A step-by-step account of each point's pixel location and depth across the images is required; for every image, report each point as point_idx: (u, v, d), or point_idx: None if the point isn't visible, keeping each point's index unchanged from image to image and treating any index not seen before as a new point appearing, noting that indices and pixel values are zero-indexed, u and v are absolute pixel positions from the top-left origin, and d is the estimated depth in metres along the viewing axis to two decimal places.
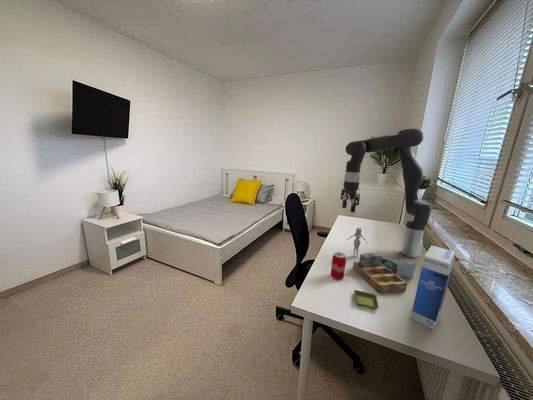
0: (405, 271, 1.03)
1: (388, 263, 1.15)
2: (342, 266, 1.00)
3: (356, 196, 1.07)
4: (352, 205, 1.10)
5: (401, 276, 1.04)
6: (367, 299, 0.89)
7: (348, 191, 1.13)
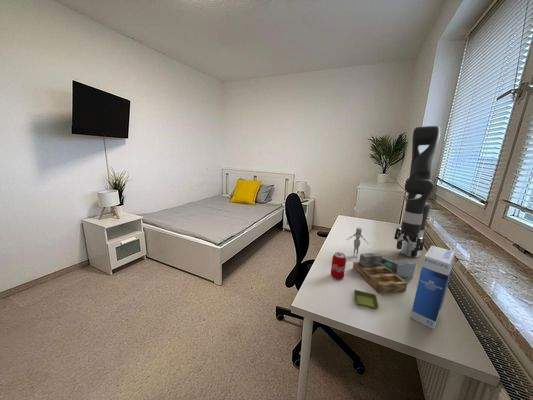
0: (405, 271, 1.03)
1: (388, 264, 1.14)
2: (342, 266, 1.00)
3: (420, 241, 0.94)
4: (414, 250, 0.97)
5: (401, 276, 1.04)
6: (367, 299, 0.89)
7: (407, 233, 1.00)
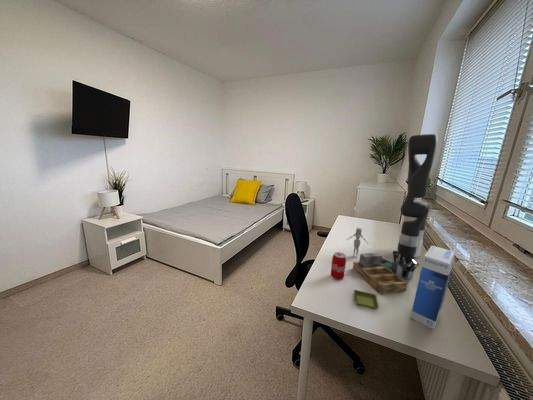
0: None
1: (387, 264, 1.14)
2: (342, 266, 1.00)
3: (414, 266, 0.97)
4: (405, 271, 1.02)
5: (401, 276, 1.03)
6: (367, 299, 0.89)
7: (403, 254, 1.03)
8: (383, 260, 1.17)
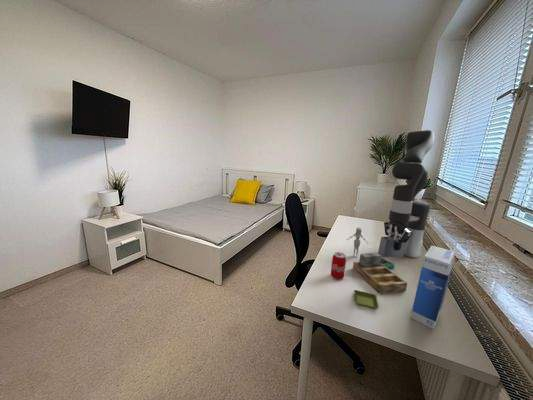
0: None
1: (386, 264, 1.14)
2: (342, 266, 1.00)
3: (407, 235, 0.85)
4: (397, 242, 0.89)
5: (390, 253, 0.91)
6: (367, 299, 0.89)
7: (395, 223, 0.90)
8: (383, 260, 1.17)
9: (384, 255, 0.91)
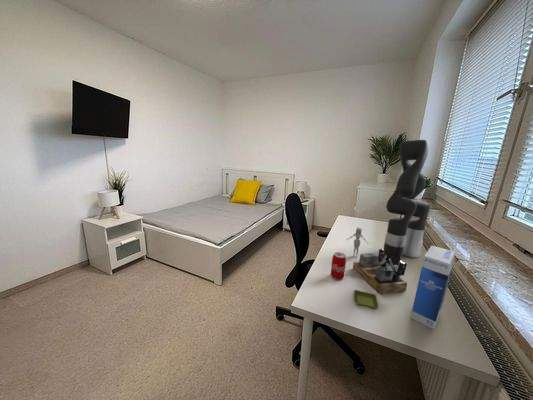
0: (390, 278, 0.94)
1: None
2: (342, 266, 1.00)
3: (402, 266, 0.87)
4: (395, 274, 0.91)
5: None
6: (367, 299, 0.89)
7: (390, 255, 0.93)
8: None
9: None
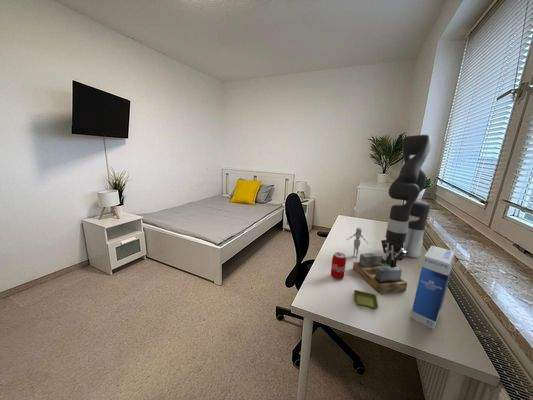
0: (390, 278, 0.94)
1: (385, 265, 1.13)
2: (342, 266, 1.00)
3: (403, 255, 0.87)
4: (393, 260, 0.92)
5: None
6: (367, 299, 0.89)
7: (392, 242, 0.92)
8: (383, 261, 1.16)
9: None
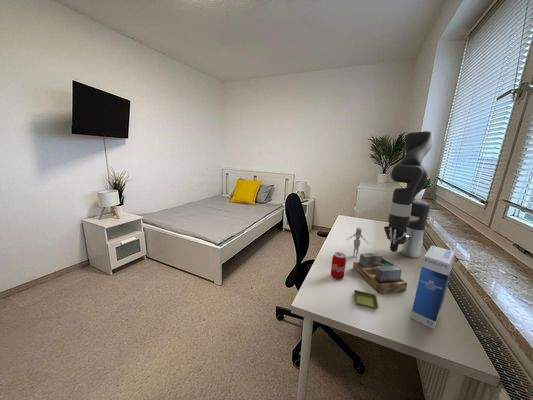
0: (390, 278, 0.94)
1: (386, 265, 1.13)
2: (342, 266, 1.00)
3: (405, 239, 0.86)
4: (394, 244, 0.91)
5: None
6: (367, 299, 0.89)
7: (395, 226, 0.90)
8: (384, 261, 1.17)
9: None
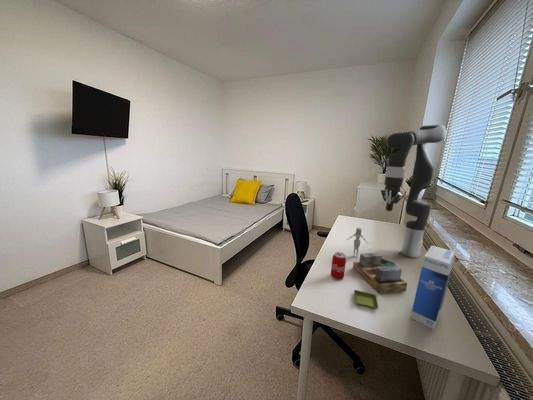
0: (390, 278, 0.94)
1: (388, 264, 1.14)
2: (342, 266, 1.00)
3: (398, 197, 0.99)
4: (389, 203, 1.04)
5: None
6: (367, 299, 0.89)
7: (390, 188, 1.03)
8: (383, 260, 1.17)
9: None
